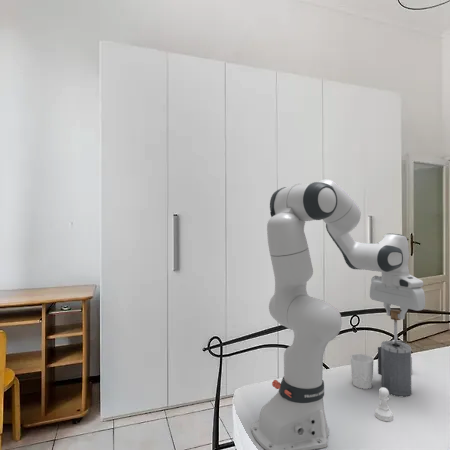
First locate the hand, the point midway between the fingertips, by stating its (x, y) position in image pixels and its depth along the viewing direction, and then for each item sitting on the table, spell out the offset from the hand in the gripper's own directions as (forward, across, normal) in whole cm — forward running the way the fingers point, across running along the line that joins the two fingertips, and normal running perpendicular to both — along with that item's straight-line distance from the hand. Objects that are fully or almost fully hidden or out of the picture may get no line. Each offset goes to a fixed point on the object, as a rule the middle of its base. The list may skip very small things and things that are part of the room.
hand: (395, 317), depth 118 cm
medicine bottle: (+26, -10, +14) cm, 31 cm away
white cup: (+26, -8, -8) cm, 29 cm away
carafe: (+26, -1, 0) cm, 26 cm away
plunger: (+16, 0, 0) cm, 16 cm away
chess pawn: (+26, +10, -18) cm, 33 cm away
